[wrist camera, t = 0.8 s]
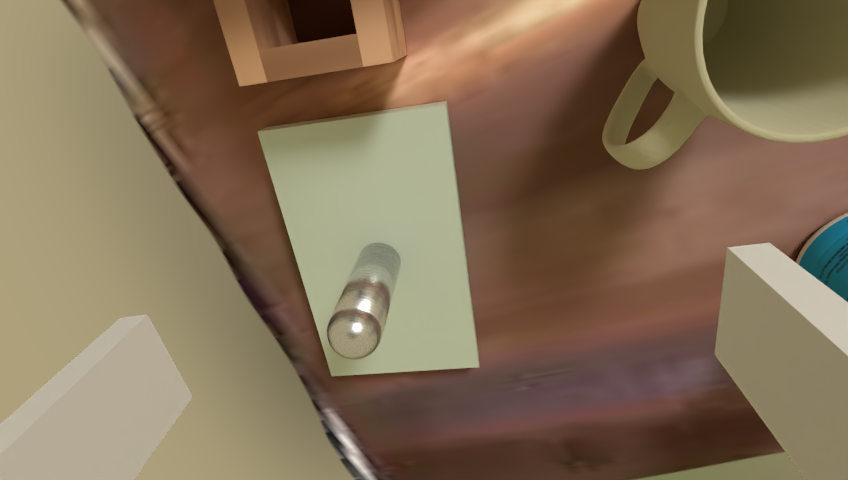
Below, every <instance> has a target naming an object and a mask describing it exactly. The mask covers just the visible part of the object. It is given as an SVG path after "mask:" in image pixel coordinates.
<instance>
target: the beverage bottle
mask: <svg viewBox="0 0 848 480" xmlns="http://www.w3.org/2000/svg"><path fill="white" fill-rule="evenodd" d="M796 263H797V264H798V265H799V266H801V267H802V268H803V269H805V270H806V271H807V272H809V273H810V274H811V275H813V276H814V277H815V278H816V279H818V280H819V281H820V282H822V283H823V284H824V285H826V286H827V287H828V288H830V289H831V290H832V291H834V292H835V293H836V294H838V295H839V296H840V297H841V298H843V299H844V300H845V301H847V302H848V213H845V214H843V215H841V216H839V217H837V218H835V219H833V220H832V221H830V222H829V223H827V224H826V225H824V226H823V227H822V228H820V229H819V230H818V231H817V232H816V233H815V234H814V235H813V236H812V237H811V238H810V239H809V240H808V241H807V242H806V244H805V245H804V246H803V248H802V250H801V251H800V253H799V255H798V258H797V260H796Z"/></svg>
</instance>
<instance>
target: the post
mask: <svg viewBox="0 0 848 480" xmlns="http://www.w3.org/2000/svg"><path fill="white" fill-rule="evenodd" d="M400 267H401V259H400V256H399V254H398V252H397V251H396V250H395V249H394V248H393V247H391V246H390V245H387V244H384V243H372V244H369V245H367V246H366V247H364V248H363V250H362V251H361V253H360V255H359V257H358V259H357V261H356V264H355V266H354V268H353V270H352V272H351V275H350V277H349V279H348V281H347V283H346V286H345V288H344V290H343V292H342V294H341V296H340V299H339V301H338V303H337V305H336V307H335V310H334V312H333V314H332V316H331V318H330V321H329V323H328V327H327V338H328V341H329V344H330V346H331V347H332V349H333V350H334V351H335V352H336V353H337V354H338V355H340V356H342V357H344V358H347V359H353V360H355V359H361V358H364V357H367V356H368V355H370V354H371V353H373V352H374V351H375V350H376V348H377V347H378V345H379V344H380V341H381V338H382V335H383V331H384V327H385V324H386V320H387V316H388V312H389V308H390V305H391V301H392V297H393V293H394V290H395V286H396V282H397V278H398V274H399V271H400Z"/></svg>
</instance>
